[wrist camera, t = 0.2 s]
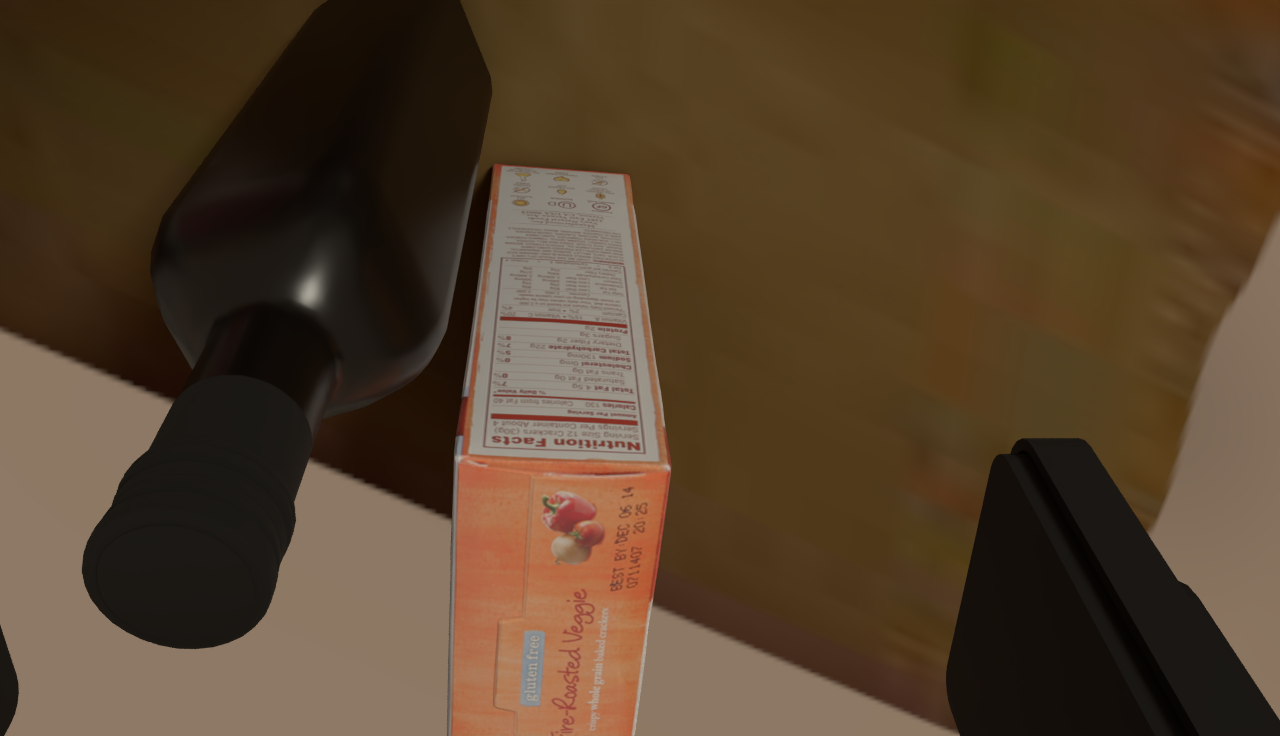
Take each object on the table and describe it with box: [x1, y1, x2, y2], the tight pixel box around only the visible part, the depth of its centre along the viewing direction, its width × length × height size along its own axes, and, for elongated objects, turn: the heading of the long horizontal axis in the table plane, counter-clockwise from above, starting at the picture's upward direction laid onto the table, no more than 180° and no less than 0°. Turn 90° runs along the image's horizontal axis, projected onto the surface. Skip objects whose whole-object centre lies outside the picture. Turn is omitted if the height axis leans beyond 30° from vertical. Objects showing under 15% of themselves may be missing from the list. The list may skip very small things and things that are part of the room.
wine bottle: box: [82, 0, 492, 649], centre depth 32 cm, size 6×6×30 cm
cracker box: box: [447, 164, 671, 736], centre depth 42 cm, size 14×6×21 cm, turn 174°
